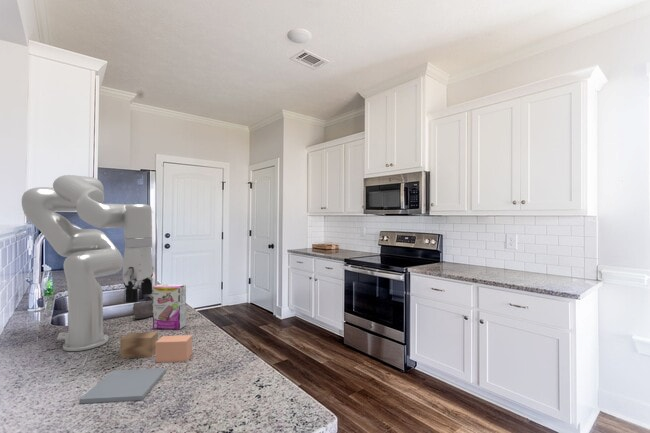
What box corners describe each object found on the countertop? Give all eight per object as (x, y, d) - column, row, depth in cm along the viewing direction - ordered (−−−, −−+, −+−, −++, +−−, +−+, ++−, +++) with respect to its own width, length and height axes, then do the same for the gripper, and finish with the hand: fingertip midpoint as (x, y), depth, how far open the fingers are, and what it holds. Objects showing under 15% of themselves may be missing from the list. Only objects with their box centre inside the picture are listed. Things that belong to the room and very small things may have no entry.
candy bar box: (152, 329, 125) (151, 286, 125) (159, 325, 130) (159, 283, 130) (179, 330, 124) (179, 287, 124) (186, 325, 129) (186, 284, 129)
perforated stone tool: (165, 311, 149) (165, 295, 149) (170, 313, 146) (170, 297, 146) (129, 319, 137) (129, 303, 137) (134, 322, 134) (134, 305, 134)
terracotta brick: (155, 362, 97) (155, 342, 97) (162, 355, 102) (162, 336, 102) (186, 361, 98) (186, 341, 98) (192, 354, 103) (192, 335, 103)
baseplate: (79, 403, 76) (79, 399, 76) (113, 374, 90) (113, 370, 90) (142, 400, 77) (142, 395, 77) (166, 371, 91) (166, 368, 91)
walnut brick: (120, 358, 100) (120, 339, 100) (128, 351, 105) (128, 333, 105) (151, 357, 101) (151, 337, 101) (158, 350, 106) (157, 331, 106)
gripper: (139, 241, 111) (140, 292, 111) (110, 246, 94) (111, 306, 94) (162, 241, 112) (163, 291, 112) (137, 245, 94) (138, 305, 94)
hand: (139, 298), depth 103 cm, fingers open, 9 cm apart
